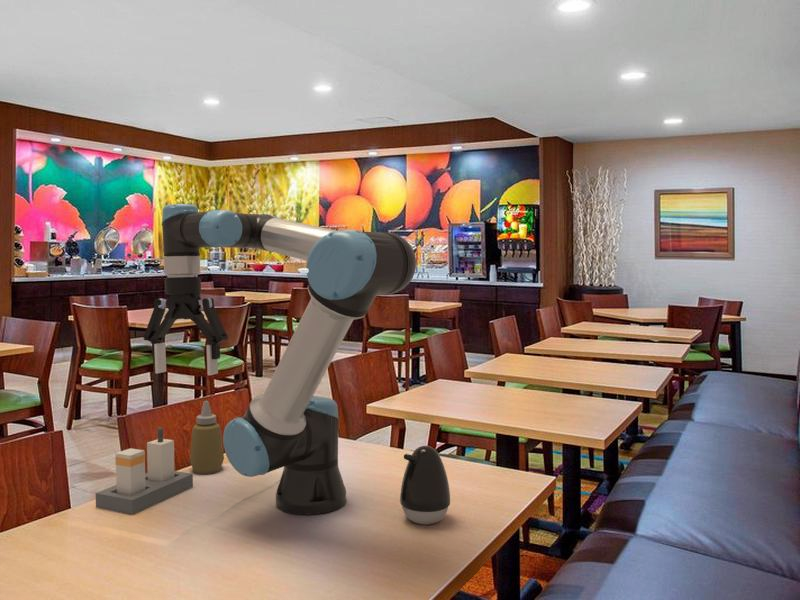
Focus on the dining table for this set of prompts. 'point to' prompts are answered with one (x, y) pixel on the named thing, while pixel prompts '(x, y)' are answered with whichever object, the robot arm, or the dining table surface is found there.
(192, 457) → the squeeze bottle
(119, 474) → the plug
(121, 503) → the grey flat block
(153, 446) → the twin plug
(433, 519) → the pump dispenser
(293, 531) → the dining table surface
